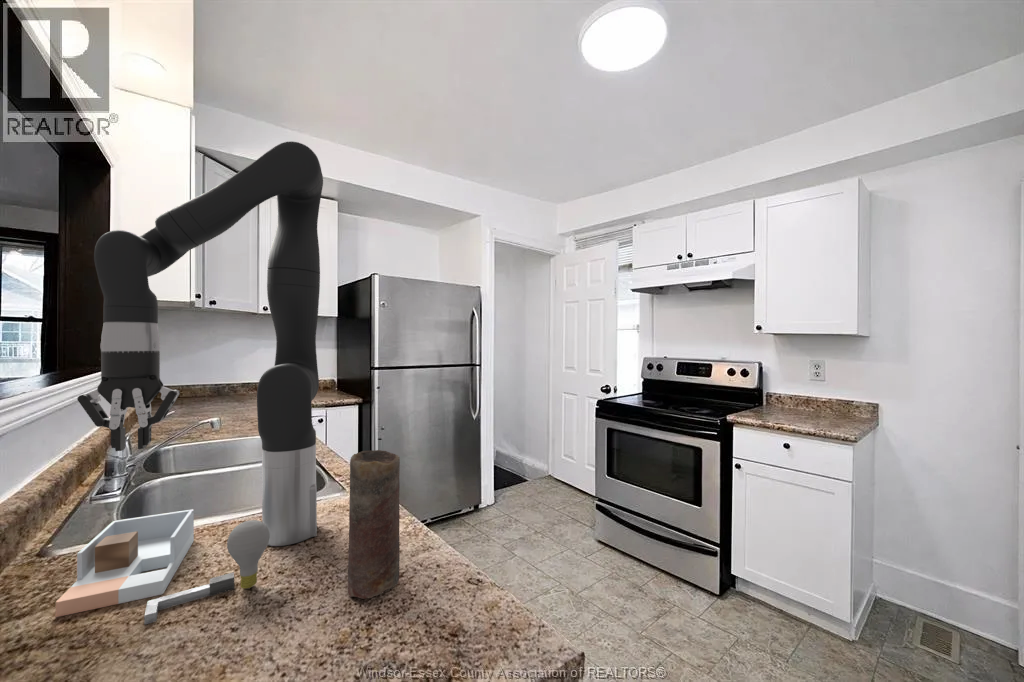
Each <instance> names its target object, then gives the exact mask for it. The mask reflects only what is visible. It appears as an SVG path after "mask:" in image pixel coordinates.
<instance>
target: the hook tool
mask: <svg viewBox="0 0 1024 682" xmlns="http://www.w3.org/2000/svg"><path fill="white" fill-rule="evenodd" d="M234 590H235V573H234V572H229V573H226V574H222V575H218V576H214V577H211V578H209V583H208V584H207V583H206V584H204V585H203V584H202V585H200V586H196V587H193V588H189V589H186V590H181V591H179V592H175V593H170V594H168V595H164V596H160V597H156V598H154V599H151V600H150V599H149V600H147V603H146V606H145V611H144V612H145V613H144V615H143V616H144V618H143V620H144V621H143V622H144V626H145V625H148V624H149V625H150V624H152V623H156V622H157V619H158V614H159V611H162V610H165V609H168V608H171V607H176V606H179V605H182V604H185V603H188V602H192V601H195V600H200V599H202V598H207V597H213V596H216V595H220V594H223V593H227V592H230V591H234Z"/></svg>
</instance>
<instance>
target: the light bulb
mask: <svg viewBox="0 0 1024 682" xmlns="http://www.w3.org/2000/svg"><path fill="white" fill-rule="evenodd" d="M269 538H270V534H269V530H268V527H267V526H266V525H265V524H264V523H263V522H262V520H258V519H250V520H249V519H248V520H245V521H243V522H240V523H239V524H238V525H236V526H234V528H233V529H232V530H231V532H230V533H229V535H228V537H227V543H226V548H227V551H228V554H229V555H230V557H231V558H232V559H233V560H234V561H235V562H236V563H237V565H238V567H239V576H240V588H241V589H246V590H249V589H251V588H253V586H255V585H256V584H257V582H258V576H257V574H258V571H259V569H258V568H259V566H258V565H259V561H260V559H261V557H262V555H263V554H264V552H265V551H266V549H267V547H268V546H269V545H268V543H269ZM236 563H235V564H236Z"/></svg>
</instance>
